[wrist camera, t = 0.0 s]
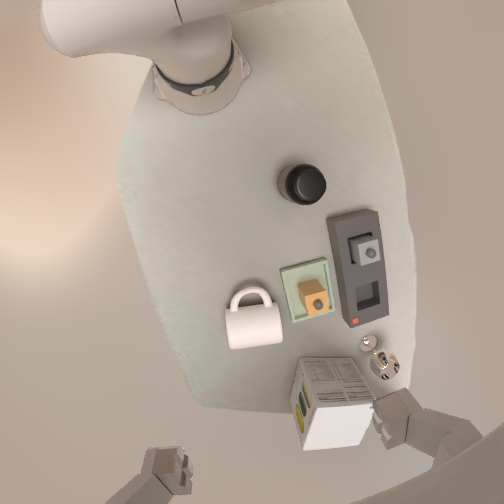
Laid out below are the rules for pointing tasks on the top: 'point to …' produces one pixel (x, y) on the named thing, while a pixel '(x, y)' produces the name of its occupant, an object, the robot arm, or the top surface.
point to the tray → (302, 274)
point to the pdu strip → (358, 269)
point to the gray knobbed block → (364, 249)
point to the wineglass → (380, 359)
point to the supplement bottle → (302, 184)
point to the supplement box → (330, 403)
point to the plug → (313, 296)
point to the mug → (253, 321)
